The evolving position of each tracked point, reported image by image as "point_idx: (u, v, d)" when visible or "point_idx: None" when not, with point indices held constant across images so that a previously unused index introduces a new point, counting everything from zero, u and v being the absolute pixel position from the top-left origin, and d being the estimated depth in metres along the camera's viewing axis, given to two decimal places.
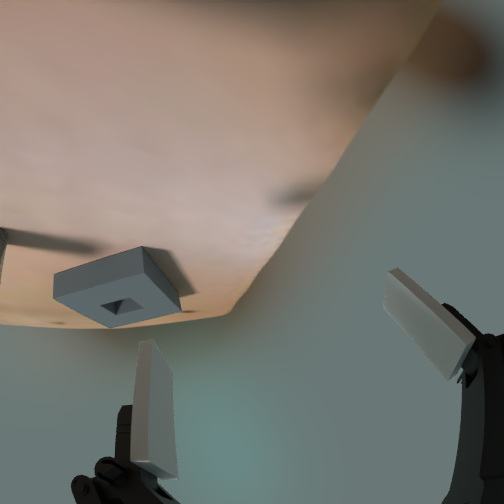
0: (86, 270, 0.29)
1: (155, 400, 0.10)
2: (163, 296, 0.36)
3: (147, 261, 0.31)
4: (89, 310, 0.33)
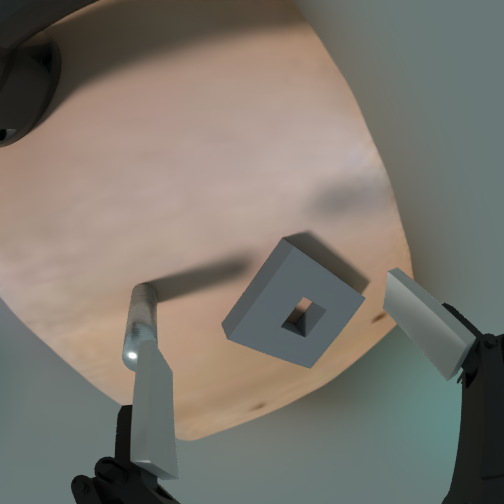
0: (248, 292, 0.34)
1: (155, 401, 0.10)
2: (334, 278, 0.35)
3: None
4: (274, 342, 0.35)
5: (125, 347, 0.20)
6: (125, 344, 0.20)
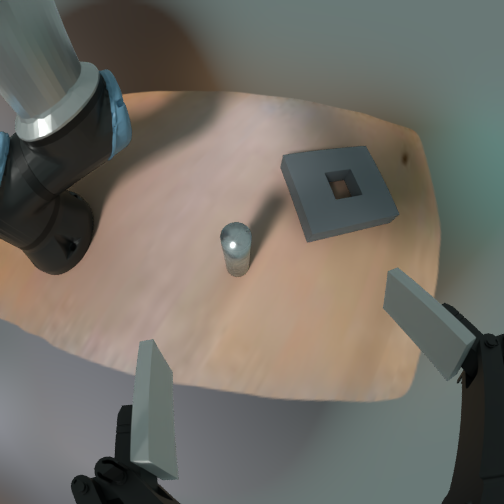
0: (296, 205, 0.41)
1: (155, 401, 0.10)
2: (329, 151, 0.42)
3: None
4: (346, 212, 0.39)
5: None
6: None
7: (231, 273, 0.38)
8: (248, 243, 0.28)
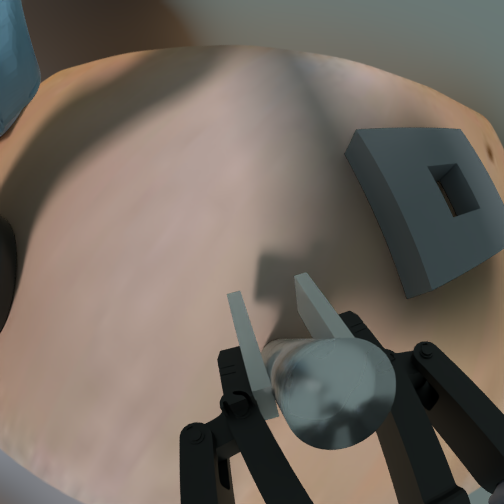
0: (387, 227, 0.20)
1: None
2: (422, 130, 0.20)
3: None
4: (469, 241, 0.17)
5: (281, 403, 0.06)
6: (279, 401, 0.07)
7: None
8: (385, 411, 0.06)
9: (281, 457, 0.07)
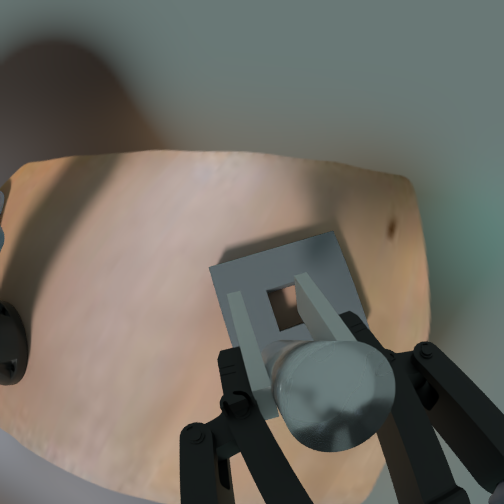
0: None
1: None
2: (276, 251, 0.32)
3: None
4: None
5: (281, 405, 0.06)
6: (279, 403, 0.07)
7: None
8: (385, 414, 0.06)
9: (281, 457, 0.07)
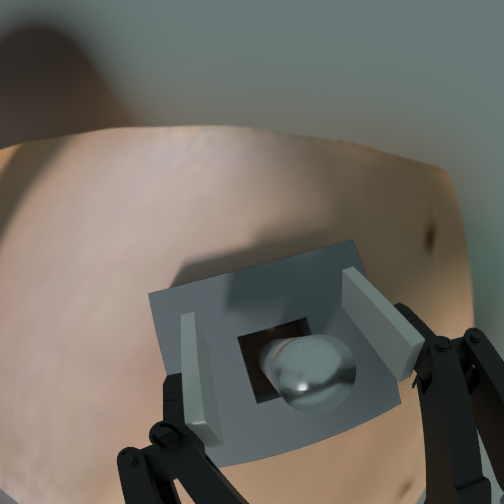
0: None
1: (201, 367, 0.11)
2: (257, 271, 0.19)
3: None
4: (277, 429, 0.16)
5: (275, 379, 0.10)
6: (274, 379, 0.10)
7: None
8: (349, 388, 0.09)
9: (220, 483, 0.06)
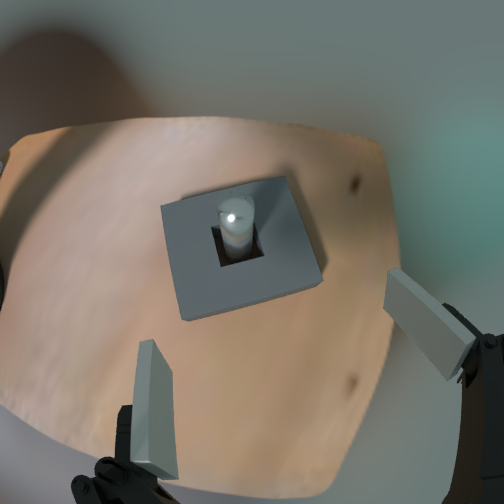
0: None
1: (155, 400, 0.10)
2: (224, 192, 0.33)
3: None
4: (233, 286, 0.29)
5: None
6: None
7: (231, 259, 0.32)
8: (251, 213, 0.22)
9: None
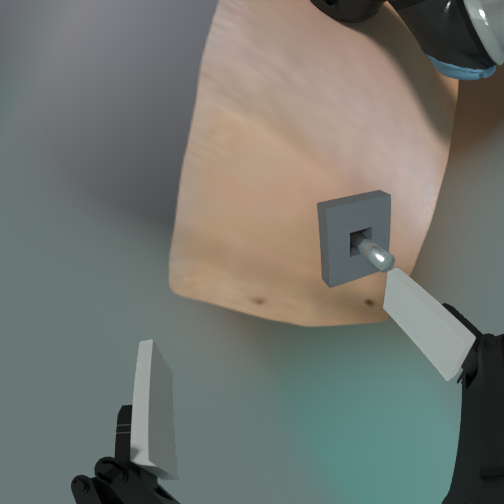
0: (348, 198, 0.46)
1: (155, 401, 0.10)
2: (387, 234, 0.48)
3: None
4: (338, 240, 0.46)
5: (388, 253, 0.40)
6: (386, 252, 0.40)
7: None
8: (382, 270, 0.40)
9: None
